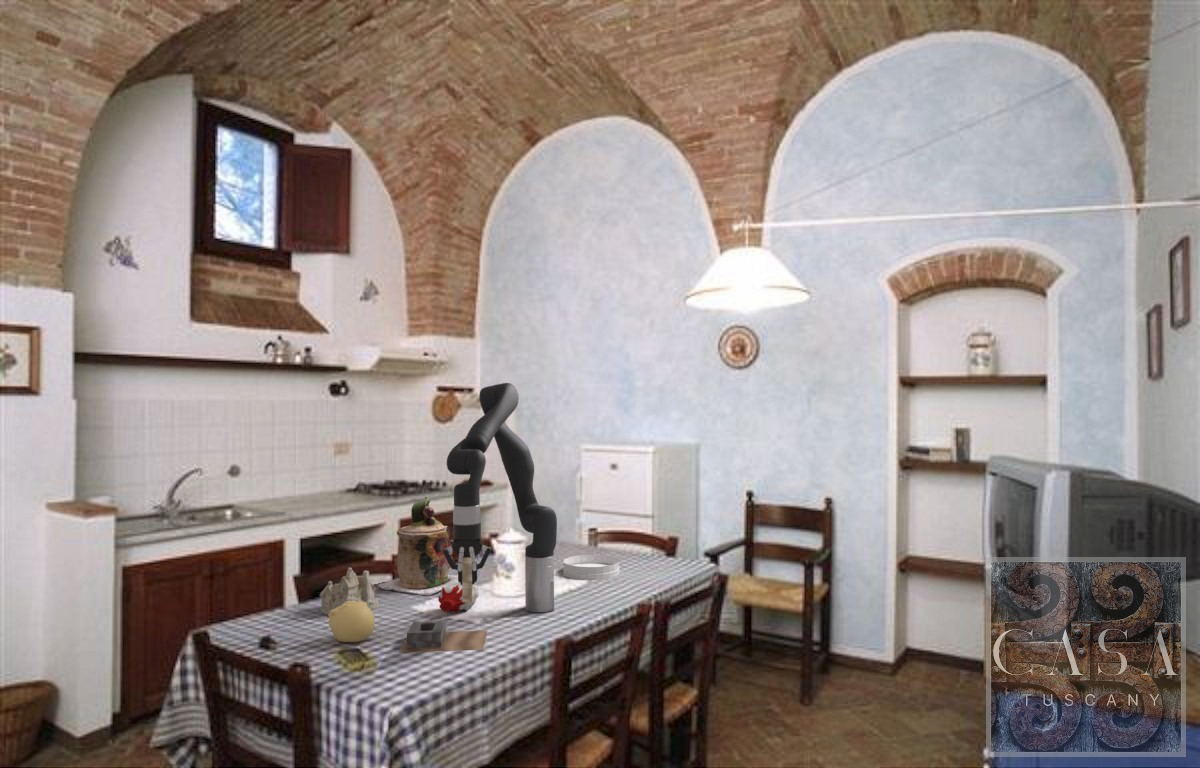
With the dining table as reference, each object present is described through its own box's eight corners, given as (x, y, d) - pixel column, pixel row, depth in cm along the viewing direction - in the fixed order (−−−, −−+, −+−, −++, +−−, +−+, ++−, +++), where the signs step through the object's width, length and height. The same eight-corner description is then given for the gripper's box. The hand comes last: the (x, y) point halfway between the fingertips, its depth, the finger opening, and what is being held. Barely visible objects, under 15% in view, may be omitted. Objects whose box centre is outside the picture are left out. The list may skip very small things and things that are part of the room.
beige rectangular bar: (473, 596, 207) (472, 553, 207) (471, 601, 202) (471, 557, 202) (464, 597, 207) (463, 554, 207) (462, 602, 202) (462, 558, 202)
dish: (554, 570, 293) (554, 557, 293) (604, 564, 302) (604, 552, 302) (576, 583, 273) (576, 569, 273) (629, 576, 282) (629, 563, 282)
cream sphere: (358, 630, 218) (358, 593, 218) (382, 638, 210) (382, 600, 211) (322, 640, 209) (322, 602, 209) (346, 649, 201) (346, 609, 202)
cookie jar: (375, 590, 264) (375, 500, 265) (418, 574, 287) (418, 492, 287) (432, 597, 254) (431, 504, 255) (472, 580, 277) (471, 495, 277)
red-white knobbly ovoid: (480, 603, 243) (463, 623, 229) (448, 601, 246) (429, 620, 231) (479, 577, 242) (462, 595, 228) (447, 575, 245) (428, 592, 230)
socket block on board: (487, 635, 212) (487, 616, 212) (483, 655, 196) (483, 634, 196) (409, 638, 211) (409, 618, 211) (399, 658, 195) (399, 637, 195)
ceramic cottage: (385, 607, 241) (382, 561, 242) (339, 621, 229) (335, 572, 229) (360, 601, 252) (356, 557, 252) (314, 614, 239) (311, 568, 240)
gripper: (493, 518, 209) (493, 579, 209) (443, 519, 208) (443, 581, 207) (491, 523, 201) (492, 586, 201) (439, 524, 200) (440, 588, 200)
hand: (467, 583), depth 204 cm, fingers closed on beige rectangular bar, 2 cm apart
